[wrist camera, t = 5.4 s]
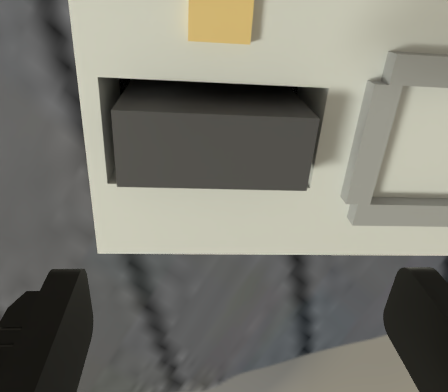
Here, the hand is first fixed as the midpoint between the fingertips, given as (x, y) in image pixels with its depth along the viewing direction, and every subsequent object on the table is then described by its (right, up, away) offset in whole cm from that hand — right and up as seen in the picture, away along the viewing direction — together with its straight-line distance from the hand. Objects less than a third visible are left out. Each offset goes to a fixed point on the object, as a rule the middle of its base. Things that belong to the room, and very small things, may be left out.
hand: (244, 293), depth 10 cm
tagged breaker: (-2, +8, +16) cm, 18 cm away
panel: (+7, +8, +17) cm, 21 cm away
